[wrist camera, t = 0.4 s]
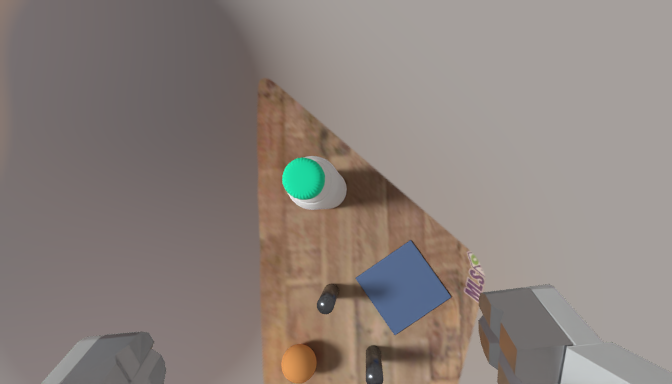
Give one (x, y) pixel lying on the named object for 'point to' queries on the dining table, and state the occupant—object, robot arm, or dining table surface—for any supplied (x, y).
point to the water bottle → (314, 183)
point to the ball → (299, 363)
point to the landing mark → (403, 287)
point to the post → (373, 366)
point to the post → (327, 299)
